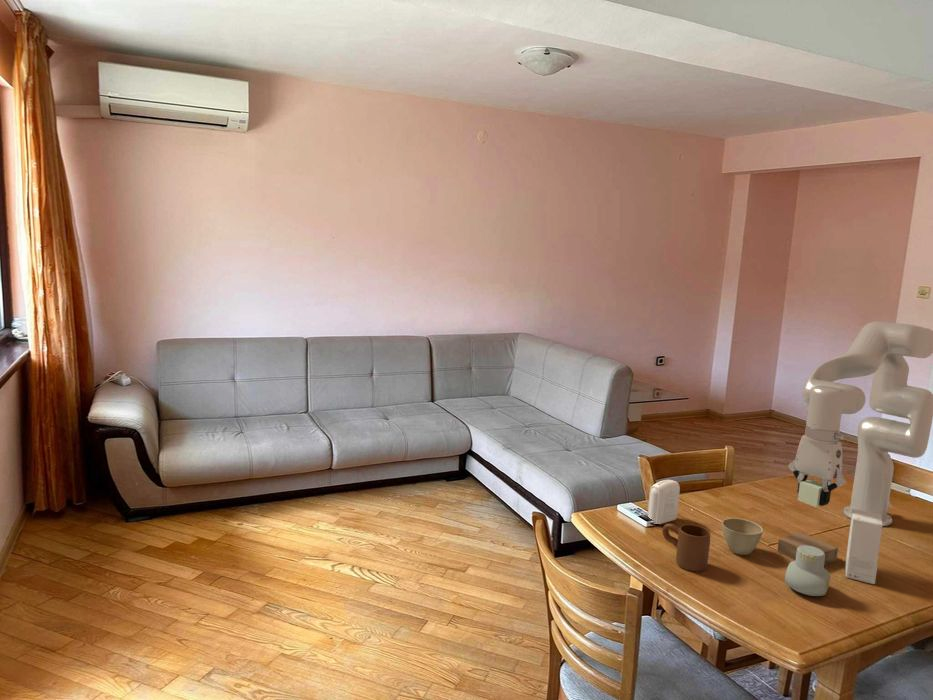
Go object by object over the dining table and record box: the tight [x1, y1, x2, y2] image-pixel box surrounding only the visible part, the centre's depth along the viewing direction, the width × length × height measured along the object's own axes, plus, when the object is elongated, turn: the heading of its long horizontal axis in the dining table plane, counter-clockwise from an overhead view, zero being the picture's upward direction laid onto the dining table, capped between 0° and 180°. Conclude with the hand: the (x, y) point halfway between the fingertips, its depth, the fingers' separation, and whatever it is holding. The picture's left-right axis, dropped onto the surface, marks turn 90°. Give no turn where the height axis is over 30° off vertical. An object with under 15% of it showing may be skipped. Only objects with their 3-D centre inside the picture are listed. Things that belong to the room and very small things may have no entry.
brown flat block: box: [776, 531, 839, 566], centre depth 164 cm, size 10×10×4 cm
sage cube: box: [797, 478, 823, 508], centre depth 162 cm, size 5×5×5 cm
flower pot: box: [721, 517, 764, 556], centre depth 166 cm, size 10×10×7 cm
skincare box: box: [845, 509, 884, 585], centre depth 155 cm, size 8×7×16 cm
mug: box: [661, 523, 711, 573], centre depth 158 cm, size 12×8×9 cm, turn 50°
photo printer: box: [646, 479, 681, 525], centre depth 182 cm, size 10×4×12 cm, turn 123°
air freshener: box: [784, 545, 831, 597], centre depth 147 cm, size 11×8×10 cm
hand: (812, 500), depth 162 cm, fingers closed on sage cube, 5 cm apart
